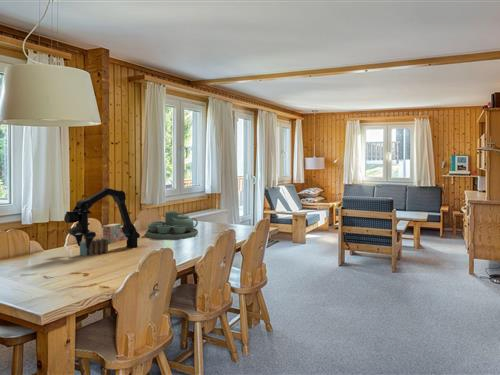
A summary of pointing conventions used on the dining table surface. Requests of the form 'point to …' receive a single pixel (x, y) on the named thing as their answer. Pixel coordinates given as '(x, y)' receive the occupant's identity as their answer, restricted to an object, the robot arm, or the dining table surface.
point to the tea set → (173, 227)
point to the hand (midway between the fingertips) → (83, 247)
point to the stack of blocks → (113, 233)
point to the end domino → (83, 249)
